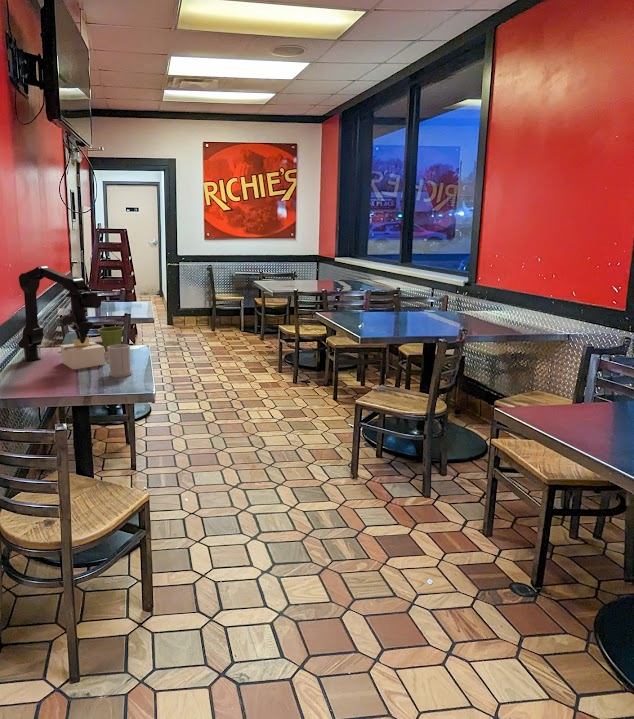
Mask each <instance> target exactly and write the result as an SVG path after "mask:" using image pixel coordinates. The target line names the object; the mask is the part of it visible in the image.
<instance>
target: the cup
mask: <svg viewBox="0 0 634 719" xmlns="http://www.w3.org/2000/svg"><path fill="white" fill-rule="evenodd" d="M107 350H108V352H105V351H104V358H105V364H107V365H109V371H108V372H109V376H110V377H111V378H124V377H126V378H127V377H129V376H131V375H132V374H133V372H132V369H131V363H130V362H131V360H130V359H131V358H130V356H131V352H130V350H131V346H130V345H129V344H124V343H123V344H122V343H121V344H118V345H111V346H108V347H107Z"/></svg>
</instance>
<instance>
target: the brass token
mask: <svg viewBox="0 0 634 719" xmlns="http://www.w3.org/2000/svg"><path fill="white" fill-rule="evenodd" d="M73 341H74V348H78V347H86V346H89V342H90V338H89V337H88V336H87V337H86V339H85V342H84V343H81V340H80V338H77V339H73Z"/></svg>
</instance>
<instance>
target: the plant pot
mask: <svg viewBox="0 0 634 719" xmlns="http://www.w3.org/2000/svg"><path fill="white" fill-rule="evenodd" d="M123 330H124V327H122V326H107V327H100V328H98V329H97V332H98V333H99V335H100V338H101V341H102V346H103V347H104V353H105V352H108V350H107V347H108V346H111V345H118V344H122V336H123Z"/></svg>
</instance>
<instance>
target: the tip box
mask: <svg viewBox="0 0 634 719" xmlns="http://www.w3.org/2000/svg"><path fill="white" fill-rule="evenodd" d="M59 347H60V354H61V355H60V356H61V363H62V365H63V364H64V366H67V367H68V368H70V369H71V370H79V369H85V368H92V367H98V366H99V365H100V366H105V365H106V362H105V358H104V353H105V350H104V346H103V345H101V344H99V343H98V342H97V343H96V342H94V341H89V346H86V347H78V348H74V344H67V345H65V344H61V345H60V346H59ZM100 366H99V367H100Z"/></svg>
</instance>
